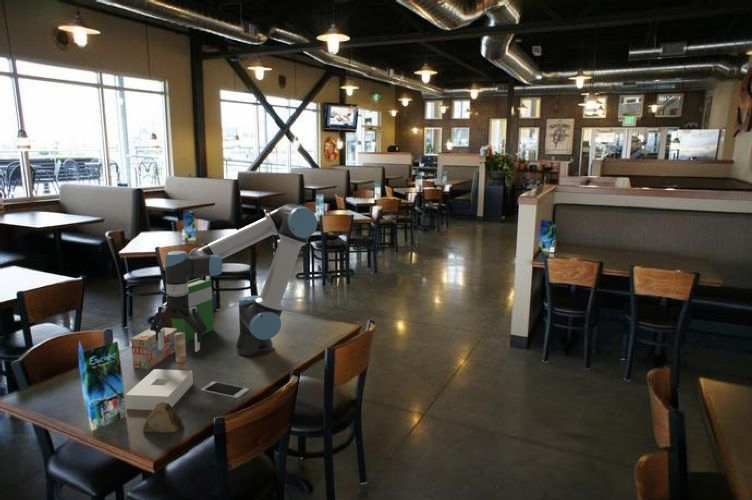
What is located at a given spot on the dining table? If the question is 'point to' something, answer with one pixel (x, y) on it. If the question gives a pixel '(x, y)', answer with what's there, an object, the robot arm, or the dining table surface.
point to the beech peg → (180, 351)
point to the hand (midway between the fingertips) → (179, 349)
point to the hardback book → (203, 301)
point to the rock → (163, 419)
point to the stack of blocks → (152, 348)
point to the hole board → (159, 389)
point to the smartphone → (225, 389)
